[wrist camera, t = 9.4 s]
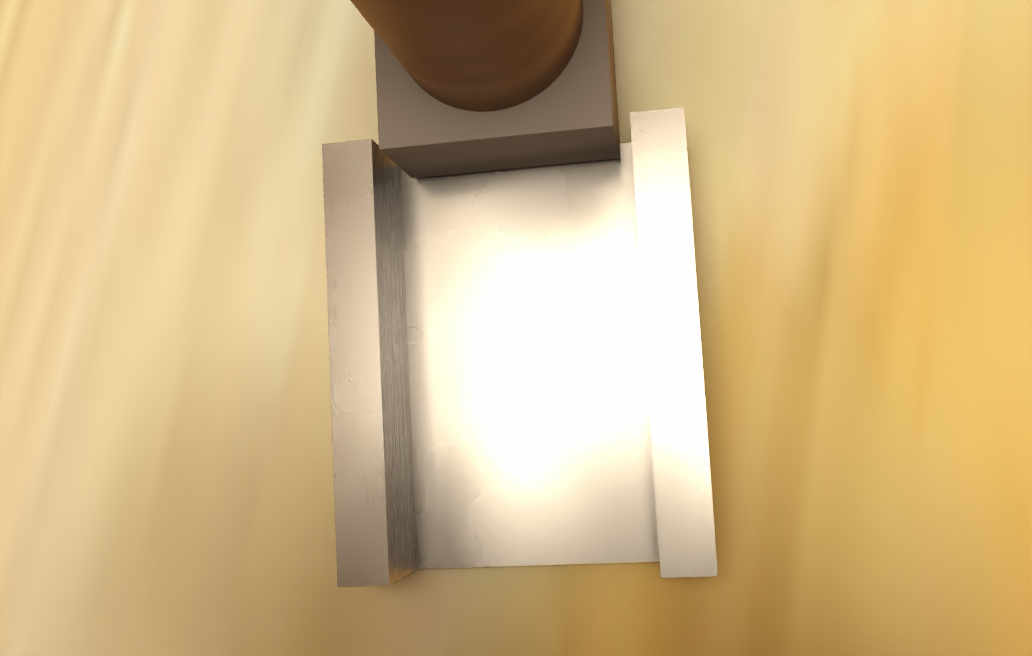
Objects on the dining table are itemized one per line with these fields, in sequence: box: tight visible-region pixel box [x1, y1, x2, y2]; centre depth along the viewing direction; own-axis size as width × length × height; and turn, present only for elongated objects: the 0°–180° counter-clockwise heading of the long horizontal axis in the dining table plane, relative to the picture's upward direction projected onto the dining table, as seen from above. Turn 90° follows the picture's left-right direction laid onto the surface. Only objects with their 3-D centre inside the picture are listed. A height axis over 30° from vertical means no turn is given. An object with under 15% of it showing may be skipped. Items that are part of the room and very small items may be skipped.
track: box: [322, 107, 718, 587], centre depth 19 cm, size 8×7×2 cm
